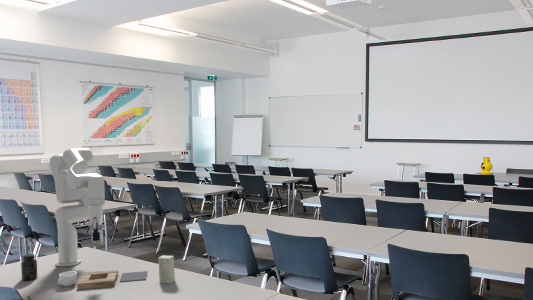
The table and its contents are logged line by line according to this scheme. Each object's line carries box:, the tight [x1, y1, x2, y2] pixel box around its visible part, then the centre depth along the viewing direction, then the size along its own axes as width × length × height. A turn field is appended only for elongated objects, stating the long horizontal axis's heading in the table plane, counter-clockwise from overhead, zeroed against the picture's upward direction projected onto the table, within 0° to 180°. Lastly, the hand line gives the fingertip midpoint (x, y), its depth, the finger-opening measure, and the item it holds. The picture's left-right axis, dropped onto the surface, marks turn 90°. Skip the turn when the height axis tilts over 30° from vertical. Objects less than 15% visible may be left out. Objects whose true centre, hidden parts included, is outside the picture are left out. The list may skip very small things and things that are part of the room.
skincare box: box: [158, 254, 176, 284], centre depth 203 cm, size 6×4×12 cm
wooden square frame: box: [76, 269, 119, 290], centre depth 204 cm, size 16×16×3 cm
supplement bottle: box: [20, 253, 38, 282], centre depth 209 cm, size 7×7×12 cm
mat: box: [119, 270, 148, 283], centre depth 211 cm, size 12×12×1 cm
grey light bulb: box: [89, 223, 105, 247], centre depth 203 cm, size 6×6×10 cm
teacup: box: [57, 270, 78, 287], centre depth 200 cm, size 10×8×5 cm
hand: (97, 238), depth 204 cm, fingers closed on grey light bulb, 5 cm apart
